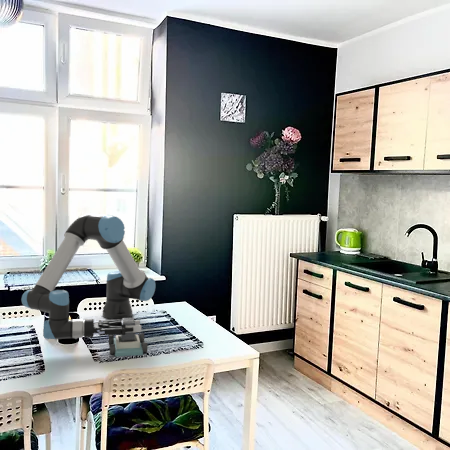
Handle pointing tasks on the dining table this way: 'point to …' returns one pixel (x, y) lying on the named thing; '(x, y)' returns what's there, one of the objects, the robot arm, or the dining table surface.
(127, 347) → the chassis
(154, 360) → the dining table surface
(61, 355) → the dining table surface
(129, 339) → the grey upright block
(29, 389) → the dining table surface
